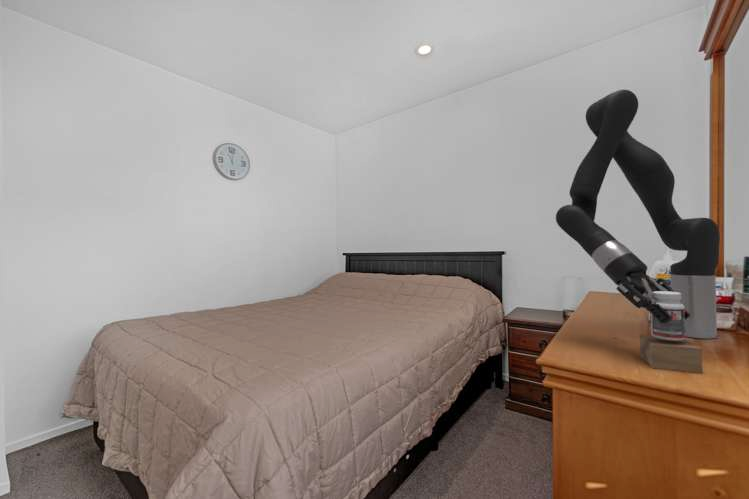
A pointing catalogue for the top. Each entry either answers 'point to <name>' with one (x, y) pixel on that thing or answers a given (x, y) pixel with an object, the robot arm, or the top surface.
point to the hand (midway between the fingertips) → (676, 319)
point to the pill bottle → (675, 309)
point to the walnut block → (671, 354)
